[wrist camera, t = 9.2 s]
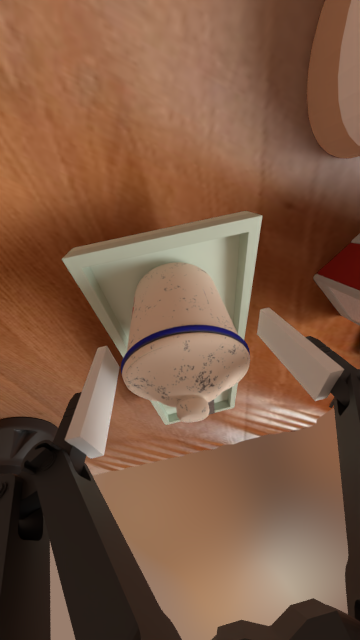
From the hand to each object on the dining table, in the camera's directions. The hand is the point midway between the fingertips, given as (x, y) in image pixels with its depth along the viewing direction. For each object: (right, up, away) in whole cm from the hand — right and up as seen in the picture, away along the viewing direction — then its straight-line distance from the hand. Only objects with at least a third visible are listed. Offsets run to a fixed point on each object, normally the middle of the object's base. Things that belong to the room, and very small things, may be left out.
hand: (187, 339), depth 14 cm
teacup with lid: (0, +3, +5) cm, 6 cm away
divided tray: (+1, -5, +13) cm, 13 cm away
